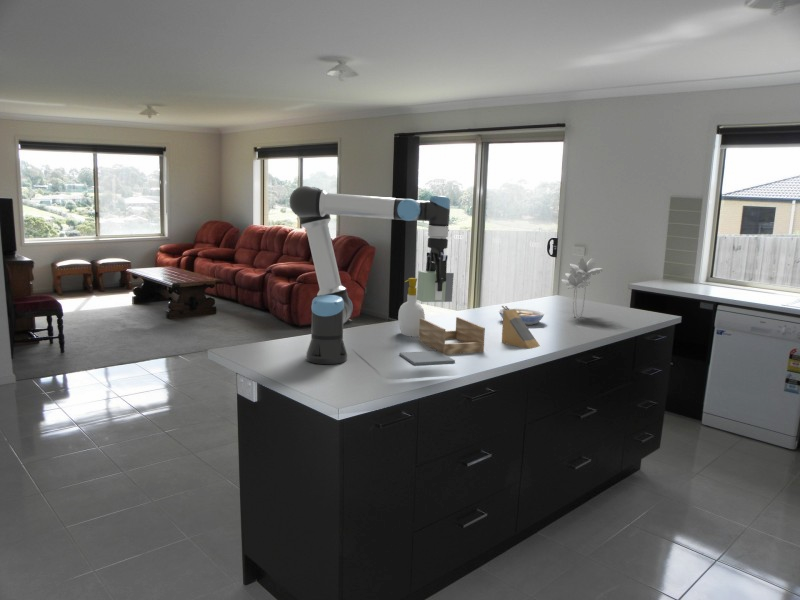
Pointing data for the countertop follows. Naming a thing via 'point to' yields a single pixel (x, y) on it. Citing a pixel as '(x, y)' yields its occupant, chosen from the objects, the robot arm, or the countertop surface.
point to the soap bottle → (410, 312)
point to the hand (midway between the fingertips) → (434, 298)
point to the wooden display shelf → (464, 332)
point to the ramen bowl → (526, 315)
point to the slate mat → (426, 357)
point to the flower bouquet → (580, 277)
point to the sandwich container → (516, 331)
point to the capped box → (433, 287)
